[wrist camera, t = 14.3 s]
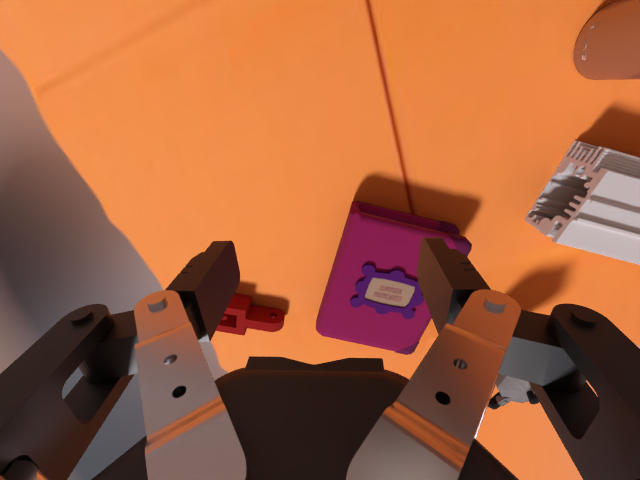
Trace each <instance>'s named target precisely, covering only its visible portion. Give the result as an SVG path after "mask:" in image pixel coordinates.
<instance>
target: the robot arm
mask: <svg viewBox="0 0 640 480" xmlns="http://www.w3.org/2000/svg"><path fill="white" fill-rule="evenodd" d="M574 62H575V66H576V68H577V70H578V72H579V73H580V74H581V75H582V76H584V77H586V78H588V79H593V80H614V79H616V80H623V79H640V0H620V1H616V2H613V3H611V4H609V5H607V6H605V7H604V8H602V9H601V10H600V11H598V12H597V13H596V14H595V15H594V16H593V17H592V18H591V19H590V20H589V21H588V22H587V24H586V25H585V26H584V27H583V29H582V31H581V33H580V34H579V36H578V39H577V42H576V44H575V49H574ZM417 279H418V284H419V286H420V289H421V291H422V294H423V296H424V299H425V301H426V304H427V306H428V309H429V312H430V314H431V317H432V319H433V322H434V324H435V327H436V329H437V332H438V334H439V335H438V337H437V338H436V340H435V341H434V343H433V345H432V346H431V348H430V349H429V351H428V352H427V354H426V355H425V357H424V358H423V360H422V362H421V363H420V365H419V366H418V368H417V369H416V371H415V372H414V374H413V375H412V377H411V378H410V380H409V379H407V378H405V377H403V376H401V375H399V374H397V373H394V372H391V371H388V370H384V367H383V360H382V358H346V359H341V360H336V361H332V362H327V363H322V364H317V365H312V364H308V363H303V362H299V361H295V360H291V359H287V358H283V357H249V359H248V362H247V365H246V367H245V368H241V369H238V370H235V371H232V372H230V373H227V374H225V375H224V376H222V377H220V378H218V379H217V380H215V381H214V379H213V377H212V374H211V372H210V370H209V367H208V364H207V362H206V359H205V357H204V354H203V352H202V349H201V347H200V344H199V342H210V341H211V339H212V337H213V335H214V333H215V331H216V329H217V327H218V325H219V323H220V321H221V319H222V317H223V315H224V313H225V311H226V309H227V307H228V305H229V303H230V301H231V299H232V297H233V295H234V293H235V291H236V289H237V287H238V285H239V281H240V271H239V266H238V261H237V256H236V252H235V247H234V244H233V242H232V241H213V242H212V243H211V245H210V246H209V247H208V248H207V250H206V251H205V252H201V253H200V254H198V255H197V256H195V257H194V258H192V259H191V260H190V261H189V263H188V264H187V265H186V267H184V268H183V270H182V271H181V273H179V274H178V275H177V277H176V278H175V279H174V280H173V281H172V283H171V284H170V285H169V286H168V287H167V288H166V290H164V291H159V292H155V293H152V294H150V295H148V296H146V297H144V298H143V299H141V300H140V301H139V302H138V303H137V304H136V306H135V308H134V310H133V311H128V312H123V313H118V314H113V315H111V314H110V312H109V310H108V308H107V307H106V306H105V305H102V304H92V305H88V306H84V307H81V308H79V309H76V310H74V311H73V312H71V313H69V314H68V315H66V316H65V317H63V318H62V319H61V320H60V321H59V322H57V323H56V324H55V325H54V326H53V327H52V328H51V329H50V330H49V331H48V332H46V333H45V334H44V335H43V336H42V337H41V338H40V339H39V340H38V341H37V342H35V343H34V344H33V345H32V346H31V347H30V348H29V349H28V350H26V351H25V353H23V354H22V355H21V356H20V357H19V358H18V359H17V360H15V361H14V362H13V363H12V364H11V365H10V366H9V367H8V368H7V369H6V370H4V371H3V372H2V373H1V374H0V480H67V479H68V477H69V476H70V474H71V472H72V471H73V469H74V468H75V466H76V465H77V463H78V462H79V460H80V458H81V457H82V455H83V454H84V452H85V451H86V449H87V447H88V446H89V444H90V443H91V441H92V439H93V438H94V437H95V435H96V433H97V432H98V430H99V429H100V427H101V426H102V424H103V422H104V421H105V419H106V418H107V416H108V414H109V413H110V412H111V410H112V408H113V407H114V405H115V404H116V402H117V401H118V399H119V398H120V396H121V394H122V393H123V391H124V390H125V388H126V387H127V385H128V383H129V382H130V380H131V379H132V377H133V376H134V374H135V373H138V375H139V383H140V391H141V398H142V406H143V412H144V421H145V428H146V436H145V437H144V438H142V439H141V440H140V441H139V442H138V443H136V444H135V445H134V446H133V447H131V448H130V449H129V450H128V451H126V452H125V453H124V454H123V455H121V456H120V457H119V458H118V459H116V460H115V461H114V462H113V463H112V464H110V465H109V466H108V467H107V468H105V469H104V470H103V471H102V472H101V473H99V474H98V475H97V476H96V477H94V478H93V479H92V480H519V479H518V478H516V477H515V476H514V475H513V474H512V473H511V472H510V471H509V470H508V469H507V468H506V467H505V466H504V465H502V463H500V462H499V461H498V460H497V459H496V458H495V457H494V456H493V455H492V454H491V453H490V452H489V451H488V450H487V449H485V447H483V446H482V445H481V444H480V443H479V442H478V441H477V440H476V437H477V434H478V431H479V428H480V425H481V423H482V420H483V417H484V415H485V412H486V409H487V406H488V404H489V401H490V398H491V395H492V393H493V390H494V387H495V384H496V382H497V379H498V376H499V374H502V375H506V376H509V377H513V378H517V379H520V380H524V381H528V382H529V384H530V386H531V388H532V389H533V391H534V393H535V395H536V396H537V398H538V400H539V402H540V403H541V405H542V407H543V409H544V411H545V412H546V414H547V416H548V418H549V419H550V421H551V423H552V425H553V427H554V428H555V430H556V432H557V434H558V435H559V437H560V439H561V441H562V443H563V444H564V446H565V448H566V450H567V451H568V453H569V455H570V457H571V458H572V460H573V462H574V464H575V466H576V467H577V469H578V471H579V473H580V475H581V476H582V478H583V480H640V349H639V348H638V347H637V346H636V345H635V344H634V343H633V342H632V341H631V340H630V339H629V338H628V337H627V336H625V335H624V334H623V333H622V332H621V331H620V330H619V329H618V328H617V327H616V326H615V325H614V324H613V323H612V322H611V321H610V320H608V319H607V318H606V317H605V316H603V315H601V314H600V313H598V312H596V311H594V310H592V309H589V308H586V307H583V306H580V305H575V304H559V305H556V306H555V307H554V308H553V310H552V312H551V315H550V316H549V315H544V314H539V313H534V312H529V311H524V310H521V307H520V305H519V304H518V302H517V301H516V300H514V299H513V298H512V297H510V296H508V295H506V294H504V293H502V292H499V291H495V290H491V289H490V288H489V286H488V285H487V283H486V282H485V281H484V279H483V278H482V277H481V275H480V274H479V273H478V271H476V269H475V267H474V266H473V265H472V264H471V262H470V260H469V259H468V258H467V256H466V255H465V254H463V253H461V252H460V251H458V250H457V249H450V248H449V247H448V245H447V244H446V242H445V241H444V239H443V238H442V237H423V238H422V240H421V244H420V252H419V260H418V268H417ZM77 367H79V369H80V371H81V372H82V374H83V377H82V378H81V379H80V380H79V381H78V383H77V384H76V385H75V387H74V388H73V389H72V390H71V391H70V393H69V394H68V395H67V396H66V397H65V399H64V400H63V398H62V389H63V386H64V384H65V382H66V380H67V379H68V378H69V377H70V375H71V374H72V373H73V372H74V371H75V370H76V369H77ZM586 380H587V381H588V382H589V383H590V385H591V386H592V387H593V388H594V390H595V392H596V393H597V396H598V397H597V396H596V394H595V393H594V392H593V390H592V389H591V388H590V387H589V385H588V384H587V382H586Z"/></svg>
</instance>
